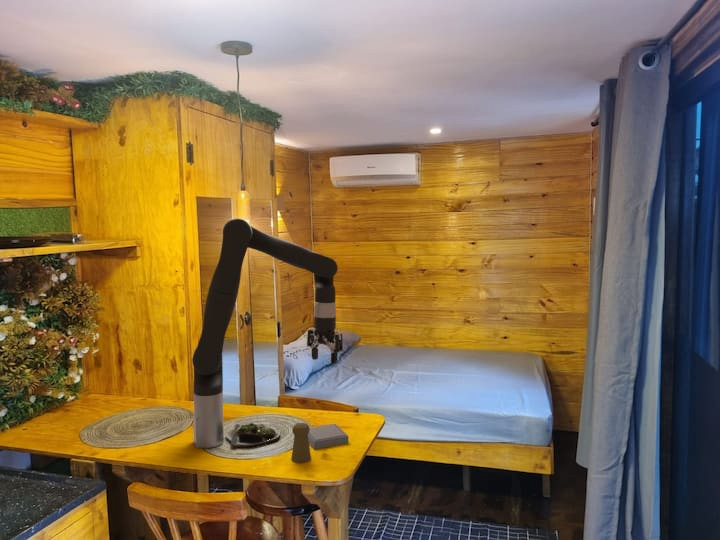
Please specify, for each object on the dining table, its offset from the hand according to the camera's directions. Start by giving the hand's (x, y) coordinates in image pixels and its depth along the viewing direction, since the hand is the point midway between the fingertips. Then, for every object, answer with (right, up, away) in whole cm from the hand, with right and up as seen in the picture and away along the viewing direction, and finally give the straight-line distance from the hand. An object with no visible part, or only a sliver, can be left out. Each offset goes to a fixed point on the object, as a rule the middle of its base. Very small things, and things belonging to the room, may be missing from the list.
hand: (324, 361), depth 188 cm
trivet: (+1, -26, -5) cm, 26 cm away
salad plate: (-24, -26, -4) cm, 36 cm away
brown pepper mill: (-6, -27, -19) cm, 34 cm away
